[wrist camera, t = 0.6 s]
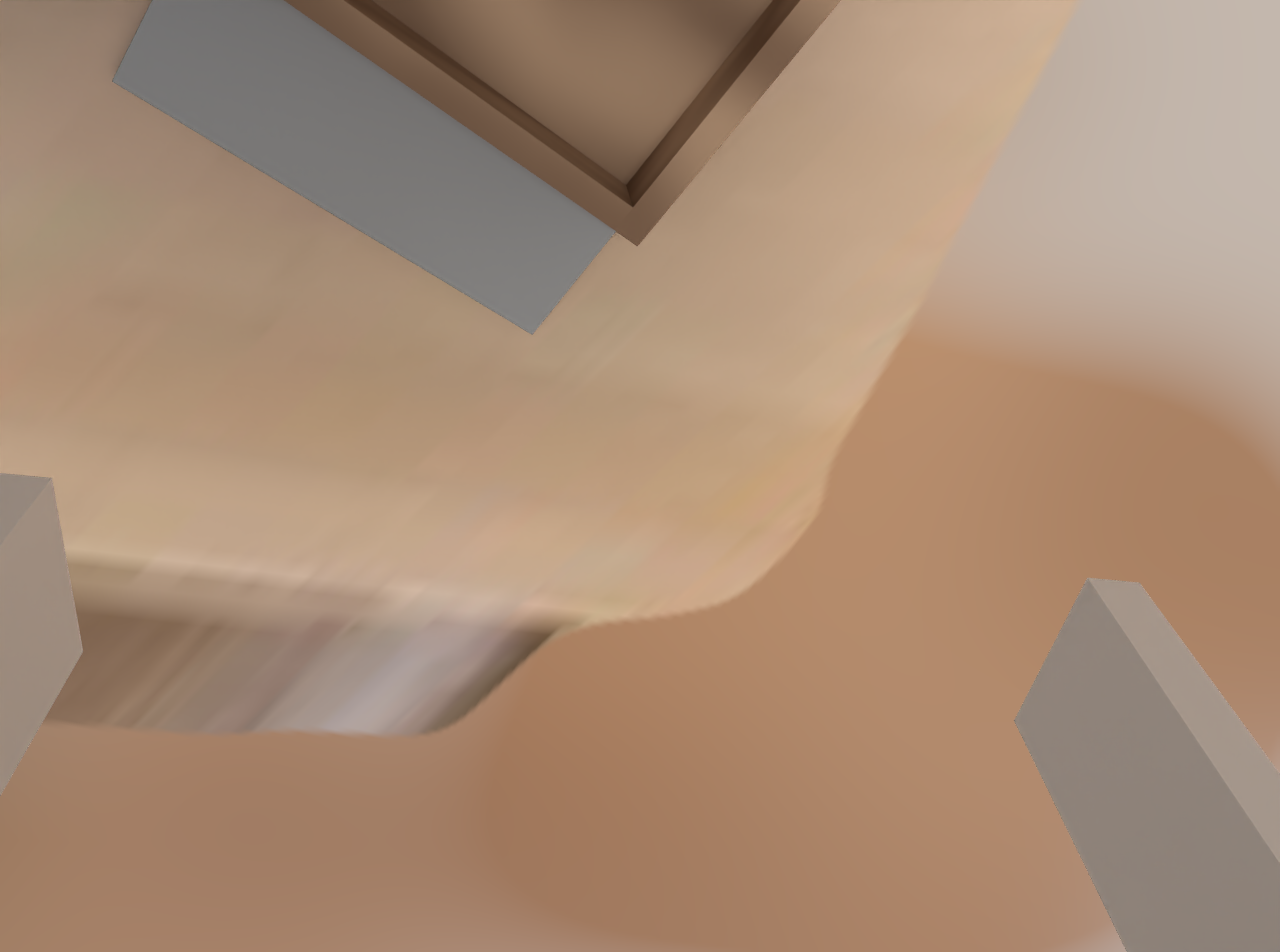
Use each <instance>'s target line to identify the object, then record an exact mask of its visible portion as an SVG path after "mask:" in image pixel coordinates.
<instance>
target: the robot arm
mask: <svg viewBox="0 0 1280 952" xmlns="http://www.w3.org/2000/svg"><path fill="white" fill-rule="evenodd" d="M82 652H83V648H82V643H81V637H80V632H79V626H78V621H77V615H76V609H75V604H74V598H73V593H72V587H71V582H70V576H69V571H68V565H67V560H66V554H65V548H64V543H63V537H62V532H61V526H60V521H59V515H58V510H57V504H56V499H55V493H54V487H53V482H52V478H46V477H35V476H25V475H15V474H4V473H0V795H1V794H2V792H3V790H4V788H5V787H6V785H7V783H8V781H9V780H10V778H11V776H12V774H13V773H14V771H15V769H16V767H17V766H18V764H19V762H20V760H21V759H22V757H23V755H24V753H25V752H26V750H27V748H28V746H29V745H30V743H31V741H32V740H33V738H34V736H35V734H36V733H37V731H38V729H39V727H40V726H41V724H42V722H43V720H44V719H45V717H46V715H47V713H48V712H49V710H50V708H51V706H52V705H53V703H54V701H55V699H56V698H57V696H58V694H59V692H60V691H61V689H62V687H63V685H64V684H65V682H66V680H67V678H68V677H69V675H70V673H71V671H72V670H73V668H74V666H75V664H76V663H77V661H78V659H79V657H80V656H81V654H82ZM1014 721H1015V724H1016V725H1017V728H1018V729H1019V732H1020V734H1021V736H1022V738H1023V740H1024V742H1025V744H1026V746H1027V748H1028V750H1029V752H1030V754H1031V756H1032V758H1033V760H1034V762H1035V764H1036V767H1037V769H1038V771H1039V773H1040V775H1041V777H1042V779H1043V781H1044V783H1045V785H1046V787H1047V789H1048V791H1049V793H1050V795H1051V797H1052V799H1053V801H1054V804H1055V806H1056V808H1057V810H1058V811H1059V814H1060V816H1061V818H1062V820H1063V822H1064V824H1065V826H1066V828H1067V830H1068V832H1069V834H1070V836H1071V838H1072V840H1073V842H1074V845H1075V847H1076V849H1077V851H1078V853H1079V854H1080V857H1081V859H1082V861H1083V863H1084V865H1085V867H1086V869H1087V871H1088V873H1089V875H1090V877H1091V879H1092V881H1093V884H1094V885H1095V887H1096V890H1097V892H1098V894H1099V896H1100V898H1101V900H1102V902H1103V904H1104V906H1105V908H1106V910H1107V912H1108V914H1109V916H1110V918H1111V920H1112V922H1113V925H1114V926H1115V928H1116V931H1117V933H1118V935H1119V937H1120V939H1121V941H1122V943H1123V945H1124V947H1125V949H1126V951H1127V952H1280V773H1279V772H1278V770H1277V769H1276V768H1275V766H1274V765H1273V764H1272V762H1271V761H1270V760H1269V758H1268V757H1267V756H1266V754H1265V753H1264V752H1263V750H1262V749H1261V748H1260V746H1259V745H1258V743H1257V742H1256V741H1255V739H1254V738H1253V737H1252V735H1251V734H1250V732H1249V731H1248V730H1247V728H1246V727H1245V726H1244V724H1243V723H1242V722H1241V720H1240V719H1239V717H1238V716H1237V715H1236V713H1235V712H1234V711H1233V709H1232V708H1231V707H1230V705H1229V704H1228V703H1227V702H1226V700H1225V698H1224V697H1223V696H1222V694H1221V693H1220V692H1219V690H1218V689H1217V688H1216V686H1215V685H1214V683H1213V682H1212V681H1211V679H1210V678H1209V677H1208V676H1207V674H1206V673H1205V671H1204V670H1203V669H1202V667H1201V666H1200V664H1199V663H1198V662H1197V660H1196V659H1195V658H1194V656H1193V655H1192V654H1191V652H1190V651H1189V649H1188V648H1187V647H1186V645H1185V644H1184V643H1183V641H1182V640H1181V639H1180V637H1179V636H1178V634H1177V633H1176V632H1175V630H1174V629H1173V628H1172V626H1171V625H1170V624H1169V622H1168V621H1167V620H1166V618H1165V617H1164V615H1163V614H1162V613H1161V611H1160V610H1159V609H1158V607H1157V606H1156V605H1155V603H1154V602H1153V601H1152V599H1151V598H1150V596H1149V595H1148V594H1147V593H1146V591H1145V590H1144V588H1143V587H1142V586H1141V584H1140V583H1137V582H1126V581H1116V580H1105V579H1095V578H1087V580H1086V582H1085V584H1084V586H1083V587H1082V589H1081V591H1080V593H1079V595H1078V597H1077V599H1076V601H1075V603H1074V605H1073V607H1072V609H1071V611H1070V613H1069V615H1068V617H1067V619H1066V621H1065V623H1064V624H1063V626H1062V628H1061V630H1060V632H1059V634H1058V636H1057V638H1056V640H1055V642H1054V644H1053V646H1052V648H1051V650H1050V652H1049V654H1048V656H1047V658H1046V659H1045V662H1044V663H1043V665H1042V667H1041V669H1040V671H1039V673H1038V675H1037V677H1036V679H1035V681H1034V683H1033V685H1032V687H1031V689H1030V691H1029V693H1028V694H1027V696H1026V698H1025V700H1024V702H1023V704H1022V706H1021V708H1020V710H1019V712H1018V714H1017V716H1016V718H1015V720H1014Z"/></svg>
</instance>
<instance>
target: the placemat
mask: <svg viewBox="0 0 1280 952" xmlns="http://www.w3.org/2000/svg"><path fill="white" fill-rule="evenodd" d="M112 82H114V83H116V84H117V85H119V86H121V87H122V88H124V89H126V90H127V91H129V92H131V93H132V94H134V95H136V96H137V97H139V98H141V99H142V100H144V101H146V102H147V103H149V104H150V105H152V106H154V107H155V108H157V109H159V110H160V111H162V112H164V113H165V114H167V115H169V116H170V117H172V118H174V119H175V120H177V121H179V122H180V123H182V124H184V125H185V126H187V127H189V128H190V129H192V130H194V131H195V132H197V133H199V134H200V135H202V136H204V137H205V138H207V139H209V140H210V141H212V142H213V143H215V144H217V145H218V146H220V147H222V148H223V149H225V150H227V151H228V152H230V153H232V154H233V155H235V156H237V157H238V158H240V159H242V160H243V161H245V162H247V163H248V164H250V165H252V166H253V167H255V168H257V169H258V170H260V171H262V172H263V173H265V174H267V175H268V176H270V177H272V178H273V179H275V180H276V181H278V182H280V183H281V184H283V185H285V186H286V187H288V188H290V189H291V190H293V191H295V192H296V193H298V194H300V195H301V196H303V197H305V198H306V199H308V200H310V201H311V202H313V203H315V204H316V205H318V206H320V207H321V208H323V209H325V210H326V211H328V212H330V213H331V214H333V215H335V216H336V217H338V218H339V219H341V220H343V221H344V222H346V223H348V224H349V225H351V226H353V227H354V228H356V229H358V230H359V231H361V232H363V233H364V234H366V235H368V236H369V237H371V238H373V239H374V240H376V241H378V242H379V243H381V244H383V245H384V246H386V247H388V248H389V249H391V250H393V251H394V252H396V253H398V254H399V255H401V256H402V257H404V258H406V259H407V260H409V261H411V262H412V263H414V264H416V265H417V266H419V267H421V268H422V269H424V270H426V271H427V272H429V273H431V274H432V275H434V276H436V277H437V278H439V279H441V280H442V281H444V282H446V283H447V284H449V285H451V286H452V287H454V288H456V289H457V290H459V291H461V292H462V293H464V294H465V295H467V296H469V297H470V298H472V299H474V300H475V301H477V302H479V303H480V304H482V305H484V306H485V307H487V308H489V309H490V310H492V311H494V312H495V313H497V314H499V315H500V316H502V317H504V318H505V319H507V320H509V321H510V322H512V323H514V324H515V325H517V326H519V327H520V328H522V329H524V330H525V331H527V332H528V333H530V334H533V333H534V332H535V331H536V329H537V328H538V327H539V326H540V325H541V323H542V322H543V321H544V320H545V318H546V317H547V316H548V315H549V313H550V312H551V311H552V310H553V308H554V307H555V306H556V305H557V303H558V302H559V301H560V300H561V299H562V297H563V296H564V295H565V294H566V292H567V291H568V290H569V289H570V287H571V286H572V285H573V284H574V282H575V281H576V280H577V279H578V277H579V276H580V275H581V274H582V273H583V271H584V270H585V269H586V268H587V266H588V265H589V264H590V263H591V261H592V260H593V259H594V258H595V256H596V255H597V254H598V253H599V252H600V250H601V249H602V248H603V247H604V245H605V244H606V243H607V242H608V240H609V239H610V238H611V237H612V235H613V234H614V233H615V232H616V231H615V230H613V229H612V228H610V227H609V226H608V225H606V224H605V223H603V222H602V221H600V220H599V219H598V218H596V217H595V216H593V215H592V214H590V213H589V212H587V211H586V210H585V209H583V208H582V207H580V206H579V205H577V204H576V203H574V202H573V201H572V200H570V199H569V198H567V197H566V196H564V195H563V194H562V193H560V192H559V191H557V190H556V189H554V188H553V187H551V186H550V185H549V184H547V183H546V182H544V181H543V180H541V179H540V178H539V177H537V176H536V175H534V174H533V173H531V172H530V171H528V170H527V169H526V168H524V167H523V166H521V165H520V164H518V163H517V162H516V161H514V160H513V159H511V158H510V157H508V156H507V155H505V154H504V153H503V152H501V151H500V150H498V149H497V148H495V147H494V146H493V145H491V144H490V143H488V142H487V141H485V140H484V139H482V138H481V137H480V136H478V135H477V134H475V133H474V132H472V131H471V130H470V129H468V128H467V127H465V126H464V125H462V124H461V123H459V122H458V121H457V120H455V119H454V118H452V117H451V116H449V115H448V114H446V113H445V112H444V111H442V110H441V109H439V108H438V107H436V106H435V105H434V104H432V103H431V102H429V101H428V100H426V99H425V98H423V97H422V96H421V95H419V94H418V93H416V92H415V91H413V90H412V89H411V88H409V87H408V86H406V85H405V84H403V83H402V82H400V81H399V80H398V79H396V78H395V77H393V76H392V75H390V74H389V73H388V72H386V71H385V70H383V69H382V68H380V67H379V66H377V65H376V64H375V63H373V62H372V61H370V60H369V59H367V58H366V57H365V56H363V55H362V54H360V53H359V52H357V51H356V50H354V49H353V48H352V47H350V46H349V45H347V44H346V43H344V42H343V41H341V40H340V39H339V38H337V37H336V36H334V35H333V34H331V33H330V32H329V31H327V30H326V29H324V28H323V27H321V26H320V25H318V24H317V23H316V22H314V21H313V20H311V19H310V18H308V17H307V16H306V15H304V14H303V13H301V12H300V11H298V10H297V9H295V8H294V7H293V6H291V5H290V4H288V3H287V2H285V1H284V0H152V2H151V4H150V6H149V8H148V10H147V12H146V14H145V16H144V18H143V20H142V22H141V24H140V26H139V28H138V30H137V32H136V34H135V36H134V38H133V40H132V42H131V44H130V46H129V48H128V50H127V52H126V54H125V56H124V58H123V60H122V62H121V64H120V66H119V68H118V70H117V72H116V74H115V76H114V78H113V80H112Z"/></svg>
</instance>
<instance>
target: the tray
mask: <svg viewBox="0 0 1280 952" xmlns="http://www.w3.org/2000/svg"><path fill="white" fill-rule="evenodd" d="M284 1H285V2H287V3H288V4H290V5H291V6H293V7H294V8H295V9H297V10H298V11H300V12H301V13H303V14H304V15H306V16H307V17H308V18H310V19H311V20H313V21H314V22H316V23H317V24H318V25H320V26H321V27H323V28H324V29H326V30H327V31H329V32H330V33H331V34H333V35H334V36H336V37H337V38H339V39H340V40H341V41H343V42H344V43H346V44H347V45H349V46H350V47H352V48H353V49H354V50H356V51H357V52H359V53H360V54H362V55H363V56H365V57H366V58H367V59H369V60H370V61H372V62H373V63H375V64H376V65H377V66H379V67H380V68H382V69H383V70H385V71H386V72H388V73H389V74H390V75H392V76H393V77H395V78H396V79H398V80H399V81H400V82H402V83H403V84H405V85H406V86H408V87H409V88H411V89H412V90H413V91H415V92H416V93H418V94H419V95H421V96H422V97H423V98H425V99H426V100H428V101H429V102H431V103H432V104H434V105H435V106H436V107H438V108H439V109H441V110H442V111H444V112H445V113H446V114H448V115H449V116H451V117H452V118H454V119H455V120H457V121H458V122H459V123H461V124H462V125H464V126H465V127H467V128H468V129H470V130H471V131H472V132H474V133H475V134H477V135H478V136H480V137H481V138H482V139H484V140H485V141H487V142H488V143H490V144H491V145H493V146H494V147H495V148H497V149H498V150H500V151H501V152H503V153H504V154H505V155H507V156H508V157H510V158H511V159H513V160H514V161H516V162H517V163H518V164H520V165H521V166H523V167H524V168H526V169H527V170H528V171H530V172H531V173H533V174H534V175H536V176H537V177H539V178H540V179H541V180H543V181H544V182H546V183H547V184H549V185H550V186H551V187H553V188H554V189H556V190H557V191H559V192H560V193H562V194H563V195H564V196H566V197H567V198H569V199H570V200H572V201H573V202H574V203H576V204H577V205H579V206H580V207H582V208H583V209H585V210H586V211H587V212H589V213H590V214H592V215H593V216H595V217H596V218H598V219H599V220H600V221H602V222H603V223H605V224H606V225H608V226H609V227H610V228H612V229H613V230H615V231H616V232H618V233H619V234H621V235H622V236H623V237H625V238H626V239H628V240H629V241H631V242H632V243H633V244H635V245H636V246H638V245H639V244H640V243H641V241H642V240H643V239H644V238H645V237H646V235H647V234H648V233H649V232H650V230H651V229H652V228H653V227H654V226H655V224H656V223H657V222H658V221H659V220H660V218H661V217H662V216H663V215H664V214H665V212H666V211H667V210H668V209H669V207H670V206H671V205H672V204H673V203H674V201H675V200H676V199H677V198H678V197H679V195H680V194H681V193H682V192H683V191H684V189H685V188H686V187H687V186H688V185H689V183H690V182H691V181H692V180H693V178H694V177H695V176H696V175H697V174H698V172H699V171H700V170H701V169H702V168H703V166H704V165H705V164H706V163H707V162H708V160H709V159H710V158H711V157H712V155H713V154H714V153H715V152H716V151H717V149H718V148H719V147H720V146H721V145H722V143H723V142H724V141H725V140H726V139H727V137H728V136H729V135H730V134H731V132H732V131H733V130H734V129H735V128H736V126H737V125H738V124H739V123H740V122H741V120H742V119H743V118H744V117H745V116H746V114H747V113H748V112H749V111H750V109H751V108H752V107H753V106H754V105H755V103H756V102H757V101H758V100H759V99H760V97H761V96H762V95H763V94H764V93H765V91H766V90H767V89H768V88H769V87H770V85H771V84H772V83H773V82H774V80H775V79H776V78H777V77H778V76H779V74H780V73H781V72H782V71H783V70H784V68H785V67H786V66H787V65H788V64H789V62H790V61H791V60H792V59H793V57H794V56H795V55H796V54H797V53H798V51H799V50H800V49H801V48H802V47H803V45H804V44H805V43H806V42H807V41H808V39H809V38H810V37H811V36H812V34H813V33H814V32H815V31H816V30H817V28H818V27H819V26H820V25H821V24H822V22H823V21H824V20H825V19H826V18H827V16H828V15H829V14H830V13H831V11H832V10H833V9H834V8H835V7H836V5H837V4H838V3H839V2H840V1H841V0H284Z"/></svg>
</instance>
